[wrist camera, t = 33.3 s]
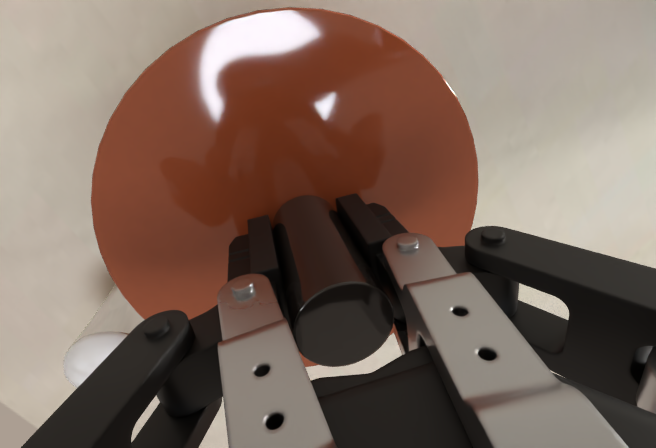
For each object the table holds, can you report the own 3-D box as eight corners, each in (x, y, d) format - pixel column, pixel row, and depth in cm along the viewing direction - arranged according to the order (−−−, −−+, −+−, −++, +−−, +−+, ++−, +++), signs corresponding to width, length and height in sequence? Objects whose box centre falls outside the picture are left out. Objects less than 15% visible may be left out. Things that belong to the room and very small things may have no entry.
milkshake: (86, 294, 28) (16, 407, 19) (138, 249, 27) (90, 345, 18) (137, 326, 30) (94, 442, 21) (185, 285, 29) (163, 387, 20)
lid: (140, -76, 10) (-7, -268, 4) (521, 98, 14) (721, 131, 8) (79, 328, 14) (-32, 524, 8) (384, 364, 19) (452, 508, 13)
